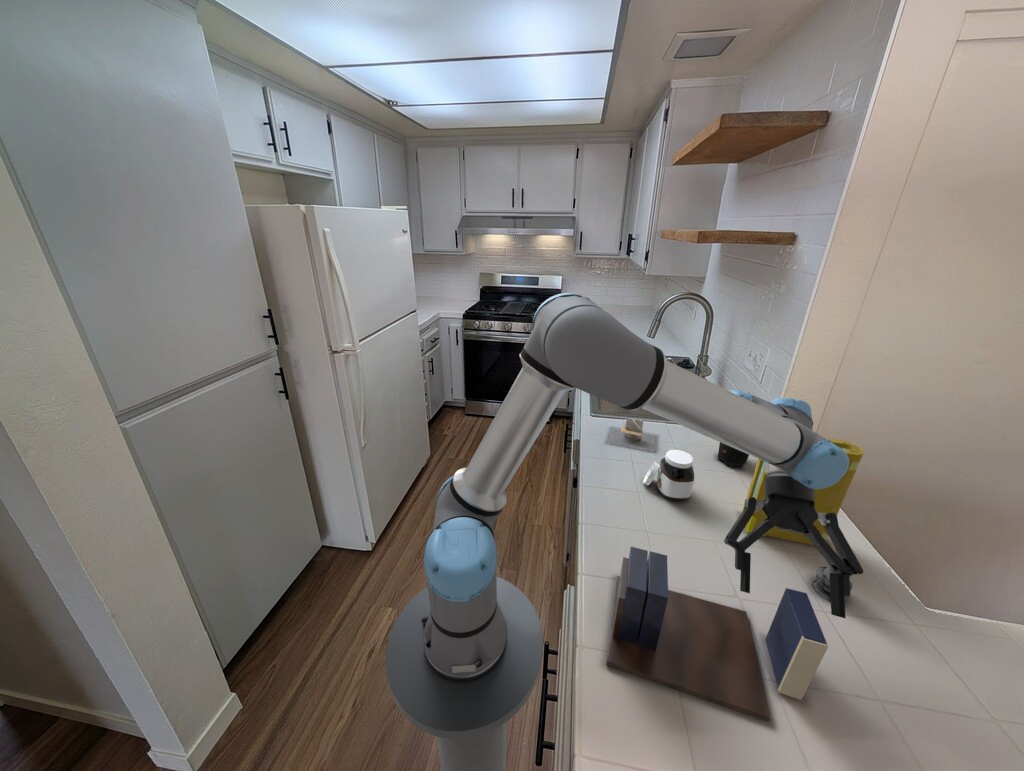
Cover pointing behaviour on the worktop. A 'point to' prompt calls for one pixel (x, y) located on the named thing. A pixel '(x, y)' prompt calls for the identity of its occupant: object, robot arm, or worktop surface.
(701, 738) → the worktop surface
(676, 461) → the spread jar
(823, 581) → the chess piece
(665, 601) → the book rack
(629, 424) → the architectural model
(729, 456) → the portable speaker
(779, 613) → the navy book
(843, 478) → the book
